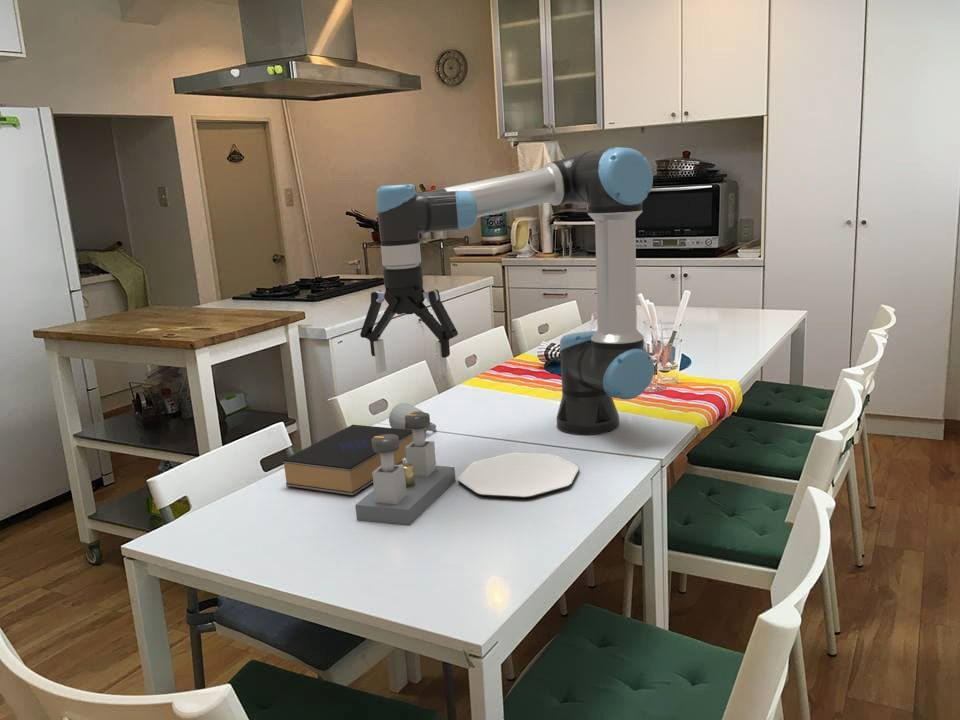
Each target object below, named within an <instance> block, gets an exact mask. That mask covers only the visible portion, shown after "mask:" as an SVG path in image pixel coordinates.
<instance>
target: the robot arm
mask: <svg viewBox="0 0 960 720" xmlns="http://www.w3.org/2000/svg"><path fill="white" fill-rule="evenodd" d="M653 174H654V173H653V170H652V166H651V165H650V162H649V160H648V159H647V157H645V156H644V155H643V154H642V153H641V152H640V151H638V150H636V149H635V148H630V147H619V146H616V147H610V148H606V149H605V148H604V149H596V150H587V151H584V152H581V153H578V154H574V155H571V156H568V157H565V158H562V159H559V160H558V159H557V160H555V161H550V162H546V163H545V164H544V165H543V166H542V168H538V169H532V170H528V171H523V172H519V173H512V174H508V175H501V176H497V177H492V178H488V179H482V180H478V181H472V182H467V183H463V184H457V185H452V186H451V185H450V186H447V187H443V188H439V189H432V190H426V191H416V187H415V185H414V184H412V183H409V184H408V183H407V184H395V185H394V184H392V185H381V186H379V187H378V189H377V190H376V214H377V221H378V231H379V238H380V251H381V263H382V266H383V267H385V268H383V270H382V272H383V273H382V275H383V283H384V287H385V291H383V292H382V291H381V290H375V291H373V292H370V304H369V308H368V311H367V313H366V316H365V319H364V322H363V325H362V327H361V331H360V334H359V335H360V338H362V339H367V340H368V341H369V344H370V346H369V347H370V352H371V356H372V357H374V361H375V369H376V374H382V373H384V372H386V371H387V365H386V364H387V363H386V352H385V346H384V345H385V343H384V342H385V341H384V338H381V336H382V334H383V333H384V331H385V330H386V328H387V326H388V325H389V324H390V322H391V321H392V319H393V317H394V316H395V315H403V314H405V315H413V314H414V315H416V317H419V319H420V320H421V321H422V322H423V323H424V324H425V325H426V326H427V327H428V329H429V330H430V331H431V333H433V334H434V336H435V337H436V338H437V339H438V340H437V341H436V342H435V350H436V351H435V352H436V361H437V362H436V364H437V373H438V376H443V375H445V374H446V373H447V372H448V365H447V363H448V362H447V358H448V357H449V356H450V355H451V353H450V352H451V349H450V340H451V339H453V338H455V337H457V336H458V335H459V332H458V330H457V329H456V326H455V324H454V323H453V321H452V319H451V317H450V316H449V313H448V312H447V310H446V308H445V306H444V304H443V302H442V301H441V295H440V292H439V290H438V289H434V290H430V291H425V290H424V279H423V267H422V266H421V265H419V264H421V263H422V255H421V245H420V244H421V243H420V240H421V239H420V234H426V233H433V232H434V233H436V232H445V231H446V232H447V231H461V230H465V229H471V228H473V226H474V225H475V224H476V221H477V219H478V218H480V217H485V216H490V215H495V214H496V215H497V214H500V213H504V212H506V213H507V212H510V211H514V210H515V211H516V210H520V209H524V208H528V207H534V206H539V205H544V204H547V203H549V204H550V205H552V206H555V207H556V206H559V205H565V204H587V215H588V216H589V217H590V218H591V219H592V220H593V221H594V228H595V230H594V232H595V270H596V271H595V274H596V275H595V277H596V283H595V284H596V316H597V317H596V320H597V321H596V323H597V330H588V331H581V332H580V331H578V332H574V333H568V334H566V335H563V336H562V337H561V338H560V341H559V355H560V356H559V358H560V359H559V360H560V374H561V375H560V377H561V394H562V396H561V399H560V403H559V407H558V410H557V414H556V427H557V429H558V430H559V431H562V432H564V433H568V434H572V435H573V434H574V435H597V434H598V435H599V434H605V433H607V432H608V433H609V432H612V431H613V430H616V429H617V428H618V427H619V426H620V416H619V413H618V410H617V407H616V404H615V401H614V399H620V400H632V399H635V398H637V397H639V396H641V395H642V394H643V393H644V392H645V390H646V389H647V388H649V386H650V385H651V383H652V381H653V378H654V374H655V364H654V361H653V358H652V357H651V356H650V355H649V353H648V352H647V351H646V350H645V347H644V346H645V344H644V339H645V337H644V335H643V334H642V333H641V332H640V331H639V330H638V329H637V327H638V326H637V321H638V320H637V259H636V257H637V255H636V254H637V253H636V252H637V250H636V249H637V248H636V247H637V246H636V245H637V243H636V241H637V240H636V220H637V218H638V217H639V216H640V215H641V214H642V213H643V202H644V201H645V199H647V197H648V194H649V193H651V191H652V188H653V184H654V183H653V182H654V175H653ZM425 300H427V302H428V303H429V304H430V307H431V309H432V311H433V312H434V315H435V316H436V318H437V319H436V318H435V316H434V315H433V314H432V313H431V312H430V311H429V308H428V307H427V306H426V305H425V303H424V301H425ZM384 301H386V303H387V307H386V308H385V310H384V311H383V314H382V316H381V317H380V319H379V320H378V322H377V323H376V321H377V319H378V316H379V314H380V311H381V307H382V303H383V302H384ZM375 324H376V325H375ZM613 398H614V399H613Z"/></svg>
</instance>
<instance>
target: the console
mask: <svg viewBox="0 0 960 720" xmlns="http://www.w3.org/2000/svg"><path fill="white" fill-rule="evenodd" d="M425 443H426V446H425V447H414V442H412V443H410V444H409V445H408V446H406V447H405V451H406V458H407V460H408V463H411V464H413V469H414V479H415V485H414V486H413V487H409V488H406V482H405V471H404V465H394V467H395V470H394V471H393V472H382V467H381V466H380V467H379V468H377V469H376V470H375V471H373V472H372V475H373V483H372V484H373V490H372V491H371V492H369V493H368V494H367V495H366V496H364V497H363V498H362V499H361V500H359V501H358V502H356V503H355V506H354V507H355V516H356V520H357V521H367V522H368V521H369V522H376V523H387V524H395V525H396V524H398V525H406V526H411V524H412V523H414V522H415V521H416V519H418V518H419V517H420V516H421V515H422V514H423V513H424V512H425V511H426V510H427V509H428V508H429V507H430V506H431V505H432V504H433V503H434V502H435V501H436V500H437V499H438V498H439V497H440V496H441V495H442V494H443V493H444V492H445V491H446V490H448V488H449V487H451V486H452V485H453V484H454V483H455V482H456V471H455V468H456V467H455V466H448V465H447V466H444V465H437V462H436V461H437V460H436V450H435V448H436V447H435V441H432V440H431V441H430V440H425Z"/></svg>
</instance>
